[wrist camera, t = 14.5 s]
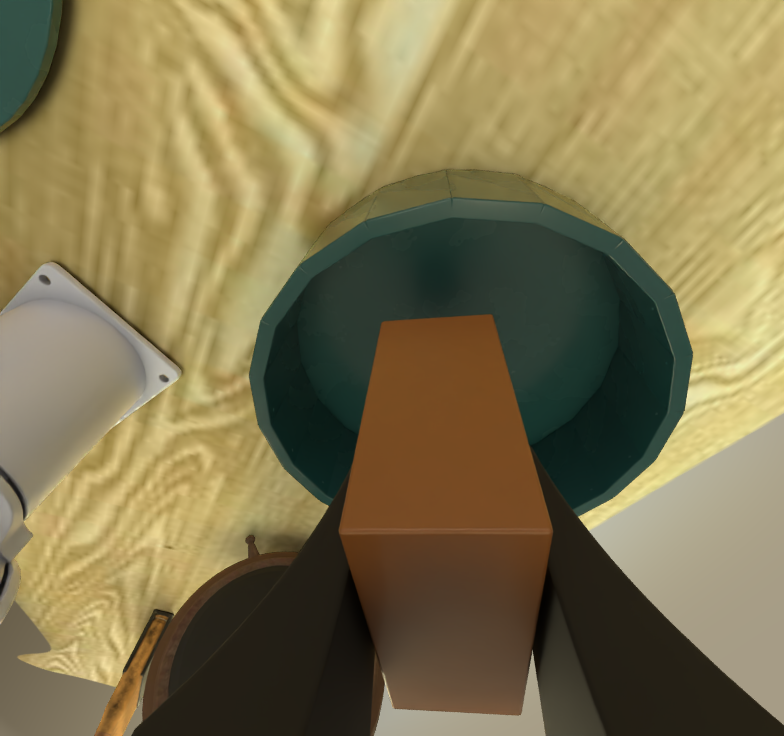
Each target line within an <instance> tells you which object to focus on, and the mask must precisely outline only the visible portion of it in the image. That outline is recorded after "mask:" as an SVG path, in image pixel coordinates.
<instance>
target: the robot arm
mask: <svg viewBox="0 0 784 736" xmlns="http://www.w3.org/2000/svg"><path fill="white" fill-rule="evenodd" d="M46 277H48V278H49V279H50V281H49V280H48V279H47V278H46ZM181 373H182V372H181V370H180V368H179V367H178V366H177V365H175V364H174V363H173V362H172V361H171V360H170V359H168V358H167V357H166V356H165V355H164V354H163V353H161V352H160V351H159V350H158V349H157V348H156V347H154V346H153V345H152V344H151V343H150V342H149V341H147V340H146V339H145V338H144V337H143V336H142V335H140V334H139V333H138V332H137V331H136V330H134V329H133V328H132V327H131V326H130V325H129V324H127V323H126V322H125V321H124V320H123V319H122V318H120V317H119V316H118V315H117V314H116V313H115V312H113V311H112V310H111V309H110V308H109V307H108V306H106V305H105V304H104V303H103V302H102V301H101V300H99V299H98V298H97V297H96V296H95V295H94V294H92V293H91V292H90V291H89V290H88V289H86V288H85V287H84V286H83V285H82V284H81V283H79V282H78V281H77V280H76V279H75V278H74V277H72V276H71V275H70V274H69V273H68V272H67V271H65V270H64V269H63V268H62V267H61V266H59V265H58V264H56V263H53V262H47V263H45V264H43V265H41V266H40V267H39V268H38V270H37V271H36V272H35V273H34V274H33V275H32V277H31V278H30V279H29V280H28V281H27V282H26V283H25V285H24V286H23V287H22V288H21V289H20V290H19V292H18V293H17V294H16V295H15V296H14V297H13V299H12V300H11V301H10V302H9V303H8V304H7V306H6V307H5V308H4V309H3V310H2V311H1V313H0V624H1V623H2V621H3V619H4V617H5V616H6V614H7V613H8V611H9V609H10V607H11V605H12V603H13V602H14V599H15V597H16V594H17V592H18V589H19V586H20V580H21V570H20V567H19V565H18V563H17V561H16V560H15V559H14V557H15V556H16V555H17V554H18V553H19V552H20V551H21V550H22V548H23V547H24V546H25V545H26V544H27V543H28V542H29V541H30V539H31V538H32V537H33V534H32V533H31V532H30V531H29V530H28V528H27V527H26V526H25V524H24V521H25V520H26V519H27V518H28V517H29V516H30V515H31V513H32V512H33V511H34V510H35V509H36V508H37V507H38V506H39V505H40V504H41V503H42V502H43V501H44V500H45V499H46V497H47V496H48V495H49V494H50V493H51V492H52V491H53V490H54V489H55V488H56V487H57V486H58V485H59V484H60V482H61V481H62V480H63V479H64V478H65V477H66V476H67V475H68V474H69V473H70V472H71V471H72V470H73V469H74V468H75V466H76V465H77V464H78V463H79V462H80V461H81V460H82V459H83V458H84V457H85V456H86V455H87V454H88V453H89V451H90V450H91V449H92V448H93V447H94V446H95V445H96V444H97V443H98V442H99V441H100V440H101V439H102V438H103V437H104V435H105V434H106V433H107V432H108V431H109V430H110V429H111V428H113V427H114V426H116V425H117V424H118V423H120V422H121V421H122V420H124V419H125V418H126V417H128V416H129V415H130V414H132V413H133V412H135V411H136V410H137V409H139V408H140V407H141V406H143V405H144V404H145V403H147V402H148V401H149V400H151V399H152V398H153V397H155V396H156V395H158V394H159V393H160V392H162V391H163V390H164V389H166V388H167V387H168V386H170V385H171V384H172V383H174V382H175V381H177V380H178V379H179V377H180V376H181ZM164 375H166V376H167V377H168V378H167V377H165V376H164ZM529 446H530V445H529ZM530 450H531V453H532V457H533V460H534V464H535V468H536V471H537V475H538V478H539V482H540V486H541V489H542V493H543V496H544V500H545V503H546V507H547V511H548V514H549V518H550V521H551V525H552V528H553V535H552V541H551V546H550V552H549V558H548V564H547V569H546V575H545V581H544V586H543V592H542V598H541V604H540V609H539V615H538V621H537V627H536V632H535V638H534V644H533V655H534V661H535V668H536V674H537V681H538V687H539V694H540V700H541V707H542V713H543V721H544V727H545V734H546V736H784V725H783V724H782V723H781V722H779V721H778V720H777V719H776V718H775V717H773V716H772V715H771V714H770V713H769V712H768V711H767V710H765V709H764V708H763V707H762V706H761V705H759V704H758V703H757V702H756V701H755V700H754V699H753V698H752V697H751V696H749V695H748V694H747V693H746V692H745V691H744V690H743V689H742V688H740V687H739V686H738V685H737V684H736V683H735V682H734V681H733V680H731V679H730V678H729V677H728V676H727V675H726V674H725V673H723V672H722V671H721V670H720V669H719V668H718V667H717V666H716V665H715V664H714V663H713V662H712V661H711V660H710V659H709V658H708V657H706V656H705V655H704V654H703V653H702V652H701V651H700V650H699V649H698V648H697V647H696V646H695V645H694V644H693V643H692V642H691V641H690V640H689V639H687V638H686V636H684V635H683V634H682V633H681V632H680V631H679V630H678V629H677V628H676V627H675V626H674V625H673V624H672V623H671V622H670V621H669V620H668V619H667V618H666V617H665V616H664V615H663V614H662V613H661V612H660V611H659V610H658V609H657V608H656V607H655V606H654V605H653V604H652V603H651V602H650V601H649V600H648V599H647V598H646V596H644V594H643V593H642V592H641V591H640V590H639V589H638V588H637V587H636V586H635V585H634V584H633V582H631V580H630V579H629V578H628V577H627V576H626V575H625V574H624V573H623V572H622V570H621V569H620V568H619V567H618V566H617V565H616V564H615V562H614V561H613V560H612V559H611V558H610V556H609V555H608V554H607V553H606V552H605V551H604V549H603V548H602V547H601V546H600V545H599V543H598V542H597V541H596V540H595V538H594V537H593V536H592V535H591V533H590V532H589V531H588V530H587V528H586V527H585V526H584V524H583V523H582V522H581V521H580V519H579V518H578V516H577V515H576V514H575V512H574V511H573V510H572V508H571V507H570V506H569V504H568V503H567V502H566V500H565V499H564V497H563V496H562V495H561V493H560V492H559V490H558V489H557V487H556V486H555V484H554V483H553V481H552V480H551V478H550V477H549V475H548V474H547V472H546V470H545V469H544V467H543V466H542V464H541V462H540V461H539V459H538V457H537V456H536V454H535V452H534V450H533V448H532V447H531V446H530ZM351 469H352V466H351V468H350V470H349V472H348V474H347V476H346V478H345V479H344V481H343V483H342V485H341V487H340V489H339V490H338V492H337V494H336V496H335V497H334V499H333V501H332V502H331V504H330V506H329V507H328V509H327V511H326V512H325V514H324V516H323V517H322V519H321V521H320V522H319V524H318V525H317V527H316V528H315V530H314V531H313V533H312V534H311V536H310V537H309V539H308V540H307V542H306V543H305V545H304V546H303V548H302V549H301V550H300V552H299V553H298V555H297V556H296V557H295V559H294V560H293V561H292V563H291V564H290V565H289V567H288V568H287V569H286V571H285V572H284V573H283V575H282V576H281V577H280V578H279V580H278V581H277V582H276V584H275V585H274V586H273V587H272V589H271V590H270V591H269V592H268V593H267V595H266V596H265V597H264V598H263V599H262V600H261V602H260V603H259V604H258V605H257V606H256V608H255V609H254V610H253V611H252V612H251V614H250V615H249V616H248V617H247V618H246V619H245V620H244V621H243V623H242V624H241V625H240V626H239V627H238V628H237V629H236V630H235V631H234V632H233V633H232V634H231V636H230V637H229V638H228V639H227V640H226V641H225V642H224V643H223V644H222V645H221V646H220V647H219V648H218V649H217V650H216V651H215V652H214V653H213V654H212V655H211V656H210V657H209V659H208V660H207V661H206V662H205V663H204V664H203V665H202V666H201V667H200V668H199V669H198V670H197V671H196V672H195V673H194V674H193V675H192V676H191V677H190V678H189V679H188V680H187V681H186V682H184V683H183V684H182V685H181V686H180V687H179V688H178V689H177V690H176V691H175V692H174V693H173V694H172V695H171V696H170V697H169V698H167V699H166V700H165V701H164V702H163V703H162V704H161V705H160V706H159V707H158V708H157V709H156V710H155V711H154V712H153V713H151V714H150V715H149V716H148V717H147V718H146V719H145V720H144V721H143V722H142V723H141V724H140V725H139V726H138V727H137V728H136V729H135V730H134V732H133V734H132V736H370V728H371V710H372V693H373V676H374V661H375V648H374V645H373V642H372V639H371V635H370V632H369V629H368V626H367V622H366V619H365V616H364V613H363V609H362V606H361V603H360V600H359V596H358V593H357V590H356V587H355V583H354V580H353V577H352V574H351V570H350V567H349V564H348V560H347V557H346V554H345V551H344V547H343V544H342V541H341V538H340V534H339V527H340V522H341V517H342V512H343V508H344V503H345V498H346V493H347V488H348V483H349V478H350V473H351Z"/></svg>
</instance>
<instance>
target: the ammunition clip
mask: <svg viewBox="0 0 784 736" xmlns="http://www.w3.org/2000/svg"><path fill="white" fill-rule="evenodd" d="M173 615H174V614H170V613H166V612H162V611H158V610H154V612H153V614H152V616H151V617H150V619H149V621H148V623H147V625H146V627H145V629H144V631H143V633H142V635H141V637H140V639H139V640H138V642H137V644H136V646H135V648H134V650H133V652H132V654H131V656H130V658H129V660H128V662H127V663H126V665H125V667H124V669H123V675H122V677H121V679H120V681H119V683H118V685H117V687H116V689H115V691H114V693H113V695H112V697H111V698H110V701H109V702H108V704H107V706H106V708H105V711H104V714H103V717H102V720H101V722H100V724H99V726H98V728H97V730H96V733H95V735H94V736H123V734H124V732H125V730H126V728H127V725H128V724H129V721H130V719H131V717H132V715H133V713H134V711H135V709H136V708H138V706H139V704H140V702H141V700H142V698H143V696H144V690H145V684H146V679H147V675H148V671H149V668H150V665H151V662H152V659H153V656H154V653H155V651H156V649H157V646H158V644H159V642H160V640H161V638H162V636H163V634H164V632H165V630H166V629H167V627H168V625H169V624H170V622H171V621H172V619H173Z"/></svg>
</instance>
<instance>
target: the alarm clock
mask: <svg viewBox="0 0 784 736" xmlns="http://www.w3.org/2000/svg"><path fill="white" fill-rule="evenodd" d="M245 541H246V543H247V544H248V559H245V560H243V561H240V562H238V563H236V564H234V565H232V566H230V567H228V568H226V569H224V570H223V571H221V572H220V573H218V574H216V575H215V576H214V577H212V578H211V579H210V580H208V581H207V582H206V583H205V584H203V585H202V586H201V587H200V588H199V589H198V590H197V591H196V592H195V593H194V594H193V595H192V596H191V597H190V598H189V599H188V600H187V601H186V602H185V603H184V605H183V606H182V607H181V608H180V610H179V611H178V612H177V614H176V615H175V616H174V618H173V619H172V621H171V622H170V624H169V625H168V627H167V629H166V630H165V632H164V634H163V636H162V638H161V640H160V642H159V644H158V646H157V649H156V651H155V653H154V656H153V659H152V662H151V665H150V668H149V671H148V675H147V679H146V684H145V690H144V696H143V709H142V711H143V713H142V716H143V721H144V720H145V719H146V718H147V717H148V716H149V715H150V714H151V713H153V712H154V711H155V710H156V709H157V708H158V707H159V706H160V705H161V704H162V703H163V702H164V701H165V700H166V699H167V698H169V697H170V696H171V695H172V694H173V693H174V692H175V691H176V690H177V689H178V688H179V687H180V686H181V685H182V684H183V683H184V682H186V681H187V680H188V679H189V678H190V677H191V676H192V675H193V674H194V673H195V672H196V671H197V670H198V669H199V668H200V667H201V666H202V665H203V664H204V663H205V662H206V661H207V660H208V659H209V657H210V656H211V655H212V654H213V653H214V652H215V651H216V650H217V649H218V648H219V647H220V646H221V645H222V644H223V643H224V642H225V641H226V640H227V639H228V638H229V637H230V636H231V634H232V633H233V632H234V631H235V630H236V629H237V628H238V627H239V626H240V625H241V624H242V623H243V621H244V620H245V619H246V618H247V617H248V616H249V615H250V614H251V612H252V611H253V610H254V609H255V608H256V606H257V605H258V604H259V603H260V602H261V600H262V599H263V598H264V597H265V596H266V595H267V593H268V592H269V591H270V590H271V589H272V587H273V586H274V585H275V584H276V582H277V581H278V580H279V578H280V577H281V576H282V575H283V573H284V572H285V571H286V569H287V568H288V567H289V565H290V564H291V563H292V561H293V560H294V559H295V557H296V556H297V555H298V552H273V553H266V554H262V555H259V553H258V551H257V548H256V546H255V544H254V541H255V537H254V536H253V535H249V536H248V537H247V538H246V540H245ZM384 685H385V681H384V678H383V674H382V671H381V668H380V665H379V661H378V658H377V655H376V652H375V661H374V676H373V693H372V710H371V728H370V736H374V733H375V730H376V727H377V723H378V720H379V715H380V710H381V705H382V699H383V693H384Z"/></svg>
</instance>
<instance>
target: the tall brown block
mask: <svg viewBox="0 0 784 736" xmlns="http://www.w3.org/2000/svg"><path fill="white" fill-rule="evenodd" d="M339 534H340V538H341V541H342V544H343V547H344V551H345V554H346V557H347V560H348V564H349V567H350V570H351V574H352V577H353V580H354V583H355V587H356V590H357V593H358V596H359V600H360V603H361V606H362V609H363V613H364V616H365V619H366V622H367V626H368V629H369V632H370V635H371V639H372V642H373V645H374V648H375V652H376V655H377V658H378V661H379V665H380V668H381V671H382V674H383V678H384V681H385V684H386V687H387V690H388V694H389V697H390V700H391V704H392V707H393V708H395V709H408V710H426V711H445V712H464V713H482V714H500V715H521V712H522V707H523V701H524V695H525V690H526V684H527V678H528V672H529V667H530V661H531V655H532V649H533V644H534V638H535V632H536V627H537V621H538V615H539V609H540V604H541V598H542V592H543V586H544V581H545V575H546V569H547V564H548V558H549V552H550V546H551V541H552V535H553V528H552V525H551V521H550V518H549V514H548V511H547V507H546V503H545V500H544V496H543V493H542V489H541V486H540V482H539V478H538V475H537V471H536V468H535V464H534V460H533V457H532V453H531V450H530V446H529V443H528V439H527V435H526V432H525V428H524V425H523V421H522V418H521V414H520V410H519V407H518V403H517V400H516V396H515V393H514V389H513V385H512V382H511V378H510V375H509V371H508V368H507V364H506V360H505V357H504V353H503V350H502V346H501V343H500V339H499V335H498V332H497V328H496V325H495V321H494V318H493V315H492V314H486V315H471V316H455V317H440V318H425V319H410V320H395V321H383V322H382V323H381V327H380V332H379V337H378V342H377V347H376V352H375V356H374V361H373V366H372V371H371V376H370V381H369V386H368V391H367V395H366V400H365V405H364V410H363V415H362V420H361V425H360V430H359V434H358V439H357V444H356V449H355V454H354V459H353V464H352V469H351V473H350V478H349V483H348V488H347V493H346V498H345V503H344V508H343V512H342V517H341V522H340V527H339Z"/></svg>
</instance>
